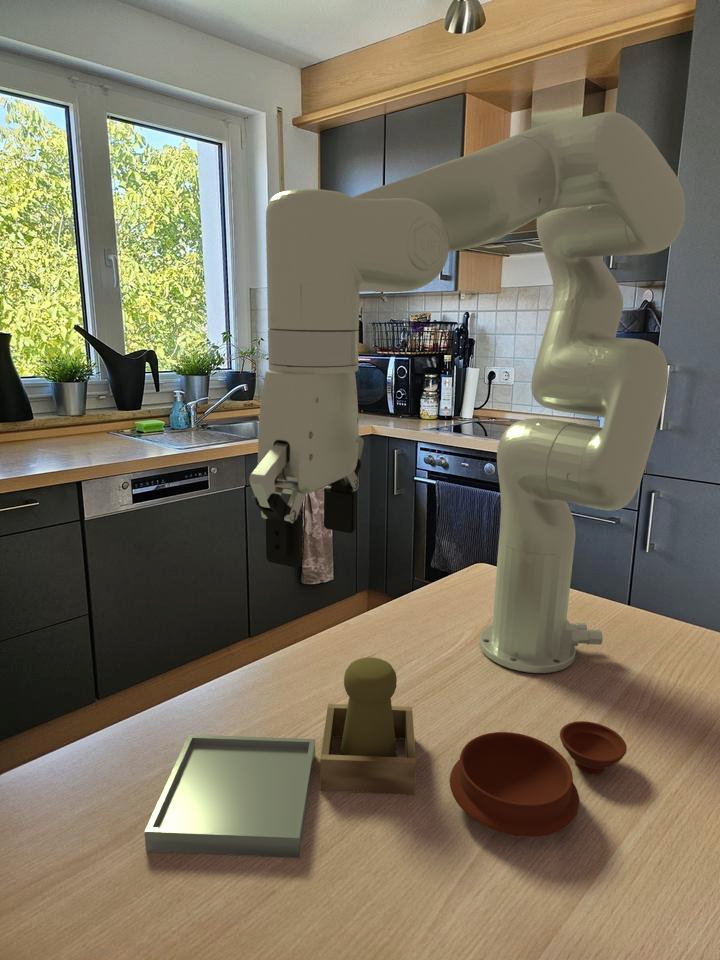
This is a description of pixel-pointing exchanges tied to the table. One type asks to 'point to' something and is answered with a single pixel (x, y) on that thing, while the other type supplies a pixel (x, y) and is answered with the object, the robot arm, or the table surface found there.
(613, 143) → the robot arm
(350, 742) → the olive pawn
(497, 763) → the pottery
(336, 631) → the table surface
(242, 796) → the tray
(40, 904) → the table surface
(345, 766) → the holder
